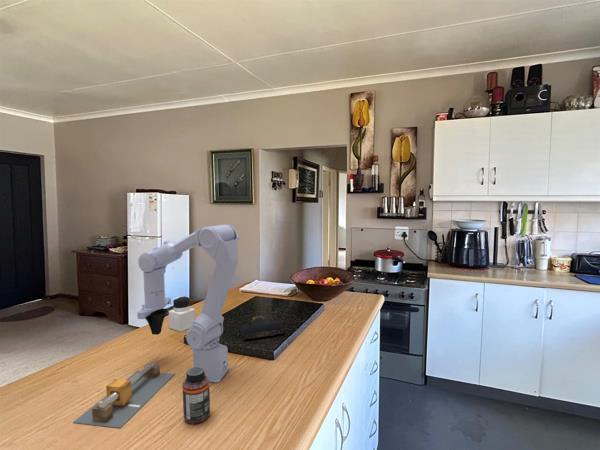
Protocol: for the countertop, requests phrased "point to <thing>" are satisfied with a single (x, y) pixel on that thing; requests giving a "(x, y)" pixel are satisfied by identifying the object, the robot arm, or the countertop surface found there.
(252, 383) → the countertop surface
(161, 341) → the countertop surface
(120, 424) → the pipe rig
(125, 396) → the collar
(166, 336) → the countertop surface
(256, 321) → the pipe connector
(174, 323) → the medicine bottle
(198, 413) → the supplement bottle
